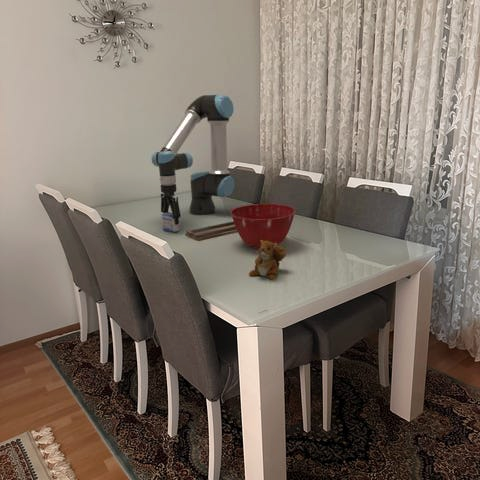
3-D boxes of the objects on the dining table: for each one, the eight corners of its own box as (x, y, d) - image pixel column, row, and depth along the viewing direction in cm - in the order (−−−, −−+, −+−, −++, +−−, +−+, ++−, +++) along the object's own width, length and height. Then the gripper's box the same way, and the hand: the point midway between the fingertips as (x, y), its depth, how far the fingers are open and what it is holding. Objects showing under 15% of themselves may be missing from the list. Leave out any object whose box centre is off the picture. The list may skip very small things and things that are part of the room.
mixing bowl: (241, 257, 187) (240, 221, 182) (224, 238, 213) (223, 206, 208) (305, 250, 194) (305, 215, 189) (281, 232, 220) (281, 201, 215)
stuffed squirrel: (247, 276, 167) (246, 242, 163) (267, 265, 178) (266, 232, 174) (270, 282, 161) (270, 246, 157) (289, 269, 172) (289, 236, 168)
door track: (185, 235, 219) (184, 230, 219) (235, 224, 236) (235, 219, 235) (198, 241, 210) (197, 235, 209) (249, 229, 227) (249, 224, 226)
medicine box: (162, 230, 228) (161, 213, 226) (168, 228, 232) (166, 211, 229) (175, 232, 225) (174, 215, 222) (180, 230, 228) (179, 213, 226)
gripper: (151, 182, 227) (155, 225, 234) (171, 188, 211) (175, 234, 217) (164, 180, 232) (168, 222, 238) (186, 185, 215) (189, 231, 222)
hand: (171, 228), depth 228 cm, fingers closed on medicine box, 9 cm apart
